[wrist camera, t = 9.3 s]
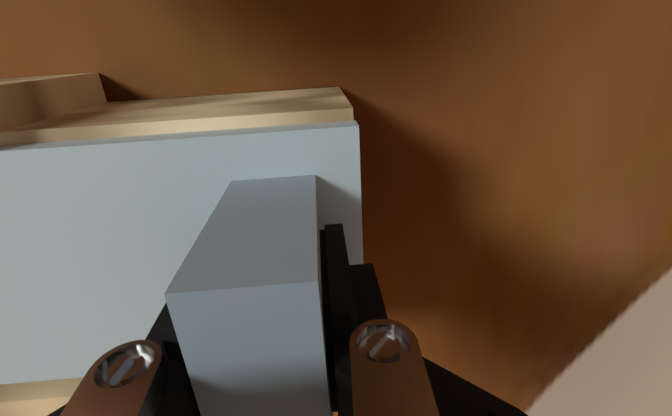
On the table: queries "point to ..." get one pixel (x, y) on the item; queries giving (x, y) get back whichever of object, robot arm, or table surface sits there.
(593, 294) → the table surface
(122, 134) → the toolbox
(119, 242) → the lid
